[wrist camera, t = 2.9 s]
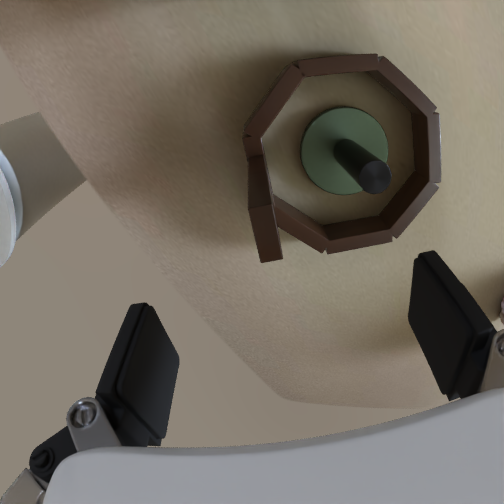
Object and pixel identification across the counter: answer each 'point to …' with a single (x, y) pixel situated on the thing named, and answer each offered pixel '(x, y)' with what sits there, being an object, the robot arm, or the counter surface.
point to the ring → (355, 231)
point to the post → (346, 152)
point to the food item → (502, 311)
